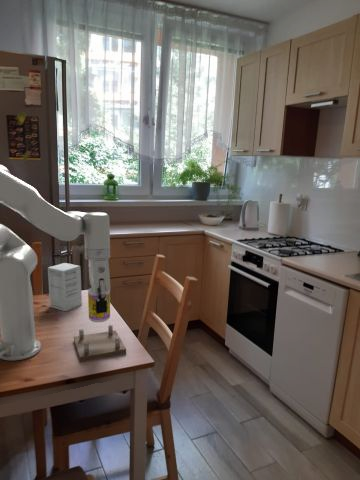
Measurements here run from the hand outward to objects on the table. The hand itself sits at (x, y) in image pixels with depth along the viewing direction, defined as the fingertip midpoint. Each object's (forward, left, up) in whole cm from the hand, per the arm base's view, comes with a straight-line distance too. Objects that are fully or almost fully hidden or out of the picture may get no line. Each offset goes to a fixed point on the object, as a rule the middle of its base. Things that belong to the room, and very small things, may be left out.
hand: (99, 307), depth 116 cm
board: (0, 0, -13) cm, 13 cm away
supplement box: (+21, +34, -14) cm, 42 cm away
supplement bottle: (0, 0, -4) cm, 4 cm away
